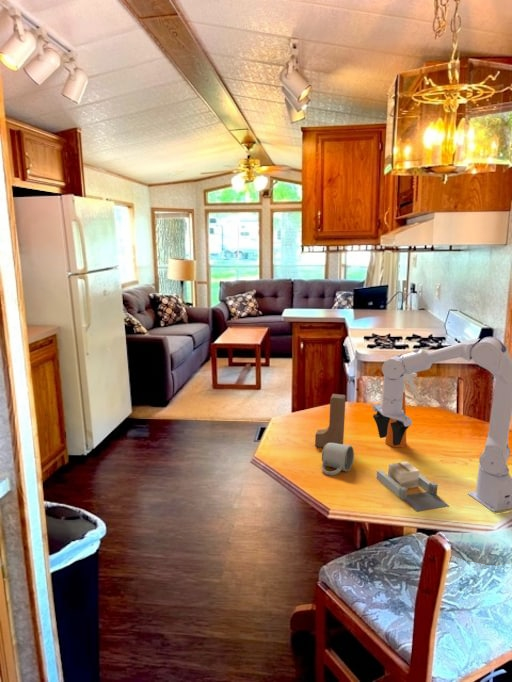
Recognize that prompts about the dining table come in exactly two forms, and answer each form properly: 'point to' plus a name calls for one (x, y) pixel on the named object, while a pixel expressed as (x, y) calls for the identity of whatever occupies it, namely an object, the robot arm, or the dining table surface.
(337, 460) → the ceramic mug
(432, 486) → the chute
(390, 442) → the spray bottle
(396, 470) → the block
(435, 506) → the mat
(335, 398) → the wooden block
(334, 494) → the dining table surface
